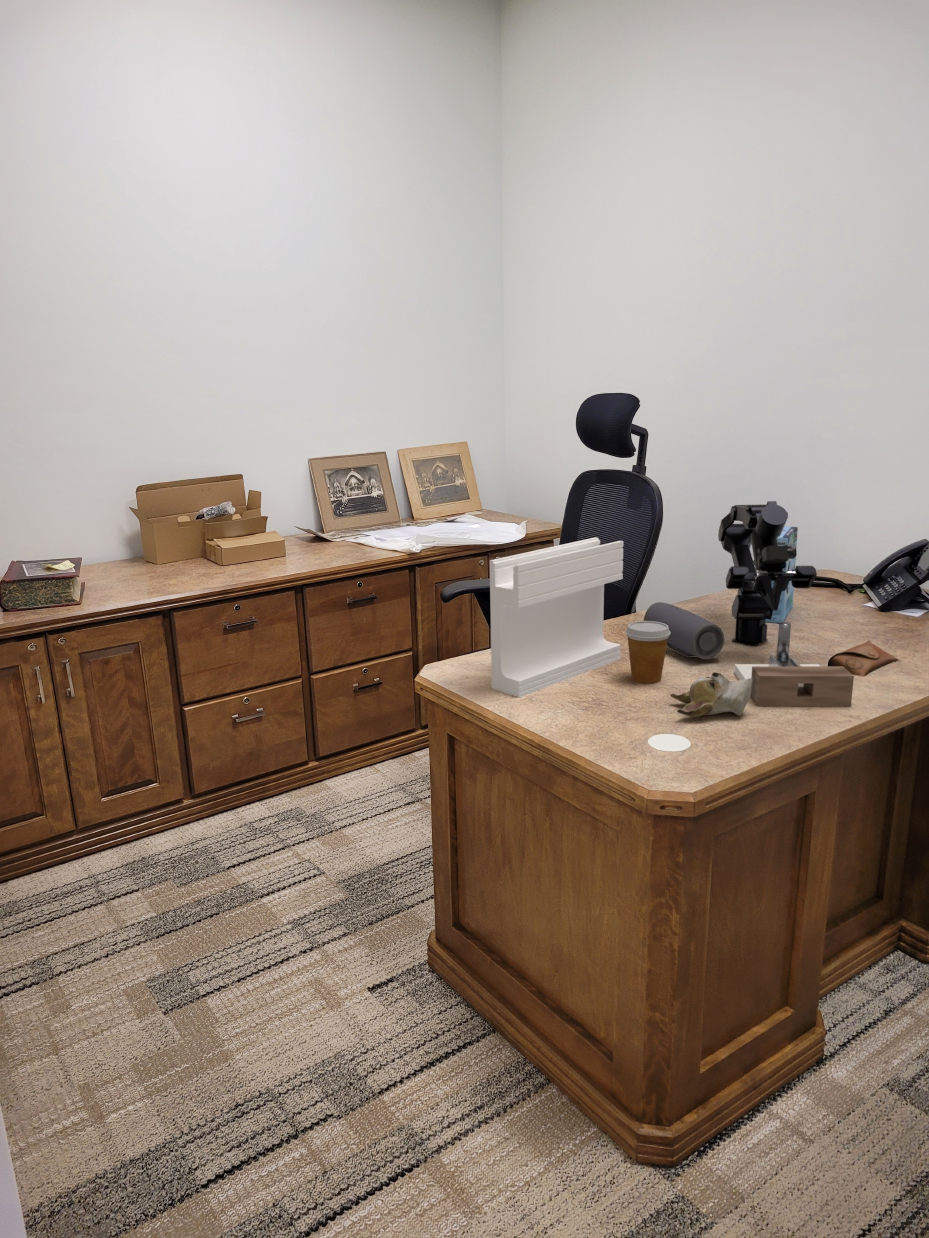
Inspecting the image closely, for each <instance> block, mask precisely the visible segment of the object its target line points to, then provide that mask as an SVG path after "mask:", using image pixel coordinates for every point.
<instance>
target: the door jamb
mask: <svg viewBox="0 0 929 1238" xmlns="http://www.w3.org/2000/svg"><path fill="white" fill-rule="evenodd" d="M854 677H855V675H852V674H851V673H850V672H849V671H848V670H847V669H845V668H844V667H843V666H828V665H826V666H824V665H823V666H821V665H820V666H752V676H751V679H752V687H751V695H750V698H752V699H751V700H753V702H754V703H755V706H757V707H852V701H853V700H852V699H853V690H854V689H853V688H854ZM798 683H804V686H803V687H798Z"/></svg>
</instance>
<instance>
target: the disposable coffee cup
mask: <svg viewBox="0 0 929 1238" xmlns="http://www.w3.org/2000/svg"><path fill="white" fill-rule="evenodd" d="M625 634H626V637H627V643H628V654H629V664H630V674H631V679H632V681H634V682H635V683H640V684H656V683H659V682H661V681H662V677H663V669H664V663H665V658H666V653H667V652H666V651H667V647H668V646H667V641H668V637H669V635H670V631H669V628H668V625H666V624H664V623H661V622H655V621H644V620H640V621H639V620H638V621H637V620H636V621H633V622H629V624H627V627H626V630H625Z"/></svg>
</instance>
